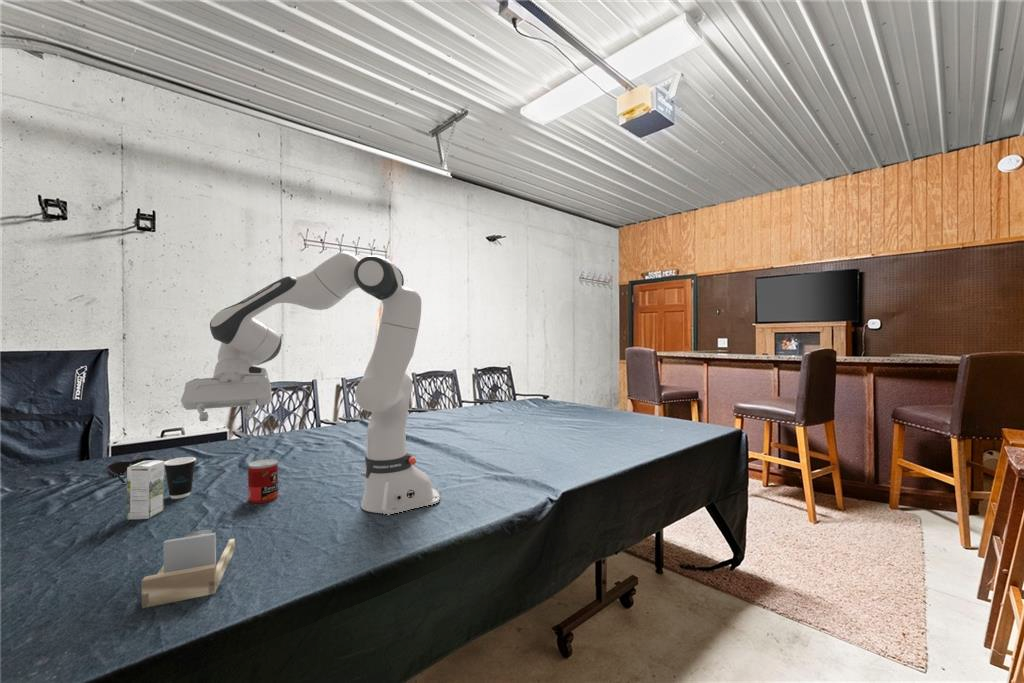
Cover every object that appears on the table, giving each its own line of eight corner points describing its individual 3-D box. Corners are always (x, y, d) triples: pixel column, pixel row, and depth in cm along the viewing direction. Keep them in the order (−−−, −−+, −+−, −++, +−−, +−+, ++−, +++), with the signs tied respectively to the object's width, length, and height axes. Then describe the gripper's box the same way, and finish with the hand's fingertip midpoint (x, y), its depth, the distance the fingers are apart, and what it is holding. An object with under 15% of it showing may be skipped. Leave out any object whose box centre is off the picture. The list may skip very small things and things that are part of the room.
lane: (176, 559, 93) (176, 536, 93) (234, 549, 98) (234, 527, 98) (141, 608, 76) (141, 580, 76) (214, 593, 81) (214, 567, 81)
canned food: (265, 504, 124) (264, 467, 124) (241, 502, 126) (241, 465, 126) (284, 495, 132) (283, 459, 132) (261, 493, 133) (261, 458, 133)
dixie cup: (176, 502, 126) (175, 465, 126) (157, 499, 129) (157, 463, 129) (202, 492, 134) (202, 458, 134) (184, 490, 136) (184, 456, 136)
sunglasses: (153, 468, 160) (153, 455, 160) (166, 476, 151) (166, 462, 151) (104, 478, 149) (104, 463, 149) (115, 487, 140) (115, 472, 140)
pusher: (165, 580, 84) (165, 540, 84) (216, 571, 87) (215, 532, 87) (163, 583, 83) (163, 542, 83) (215, 573, 86) (214, 534, 86)
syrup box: (142, 511, 119) (142, 460, 119) (165, 510, 120) (164, 459, 120) (126, 520, 114) (125, 466, 114) (149, 519, 114) (149, 465, 114)
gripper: (184, 371, 112) (172, 414, 103) (272, 368, 120) (268, 407, 111) (189, 386, 116) (178, 429, 107) (274, 382, 124) (270, 421, 115)
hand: (225, 418), depth 109 cm, fingers open, 8 cm apart
